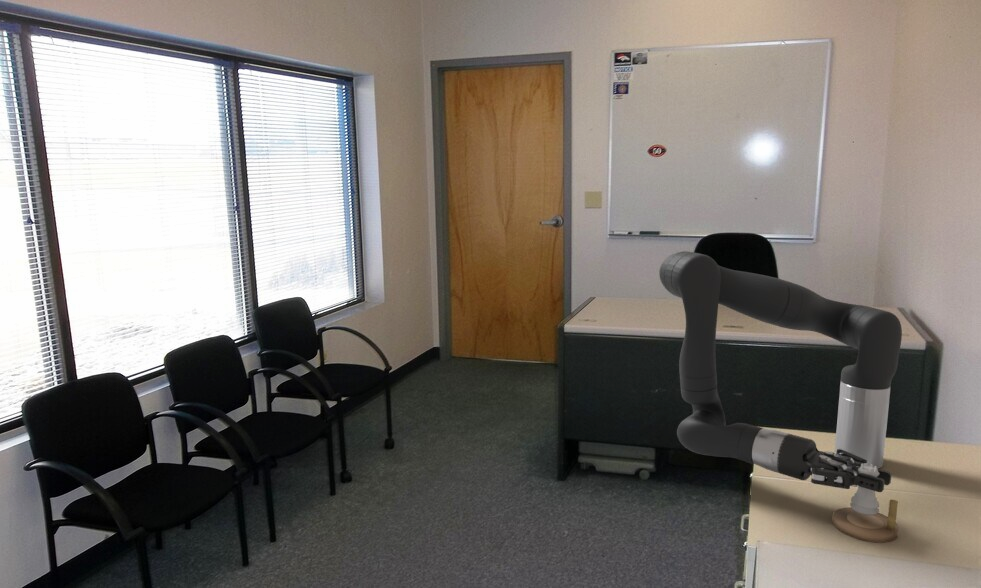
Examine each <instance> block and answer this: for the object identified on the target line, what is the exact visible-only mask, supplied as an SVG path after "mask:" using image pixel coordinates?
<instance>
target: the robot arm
mask: <svg viewBox="0 0 981 588" xmlns="http://www.w3.org/2000/svg"><path fill="white" fill-rule="evenodd" d="M658 272H659V280H660V282H661V284H662V285H663V287H664V289H665V290H666V291H667V292H668V293H670V294H672V295H673V296H675V297H678V298H680V299H682V305H683V309H684V314H685V331H684V338H683V340H682V341H683V342H682V346H681V348H680V354H679V361H678V367H679V368H678V369H679V371H678V372H679V384H680V394H681V399H683V401H684V402H685V403H688V404H690V405H691V406H692V407H691V408H692V414H691V415H689V416H687V417H686V418H685V419H683V420H681V422H680V423H679V424H678V427H677V429H676V437H677V439H678V442H680V444H681V445H682V446H683V447H684V448H686V449H687V450H689V451H690V452H692V453H694V454H699V455H704V456H710V457H711V456H712V457H720V458H734V459H737V460H739V461H743V462H745V463H749V464H752V465H756V466H758V467H761V468H762V469H765V470H767V471H771V472H773V473H777V474H780V475H783V476H787V477H790V478H794V479H797V480H800V481H806V480H809V478H810V477H811V479H810V483H811V484H815V485H820V486H826V487H831V488H832V487H833V488H839V489H845V490H849V489H850V488H851V487H852V488H858V486H860V487H863V488H866V489H870V490H873V491H875V493H882V492H883V491H884V490H885V486H889V485H891V482H892V481H891V480H892V473H891V472H890V471H887V470H883V469H881V468H882V467H883V465H884V455H885V454H884V453H885V447H886V436H887V428H888V427H887V426H888V419H889V418H888V417H889V408H890V407H889V405H890V396H891V395H890V394H891V384H892V380H893V378H894V376H895V375H896V372H897V369H898V364H899V357H900V352H901V344H902V340H903V339H902V338H903V333H902V331H903V330H902V324H901V321H900V319H899V317H898V316H897V315H895V314H894V313H892V312H890V311H887V310H883V309H879V308H876V307H872V306H868V305H863V304H862V305H860V304H854V303H848V302H847V303H846V302H841V301H836V300H833V299H829V298H826V297H823V296H822V295H820V294H818V293H816V292H815V291H813V290H811V289H810V288H807V287H806V286H802V285H800V284H797V283H794V282H791V281H788V280H786V279H785V280H784V279H781V278H777V277H773V276H770V275H764V274H759V273H755V272H754V273H753V272H748V271H742V270H734V269H730V268H727V267H724V266H722V265H719V264H718V263H717V262H716V260H715V259H713V258H712V257H711V256H709V255H708V254H704V253H703V254H702V253H699V252H693V251H688V250H687V251H686V250H684V251H679V252H678V251H677V252H675V253H672V254H670V255H668V257H666V258H665V259H664V260H663V261H662V263H661V264H660V267H659V271H658ZM719 305H721V306H723V307H725V308H727V309H728V308H729V309H730V310H732V311H735V312H737V313H739V314H742V315H743V316H744V315H745V316H746V317H749V318H751V319H752V318H753V319H755V320H757V321H760V322H763V323H766V324H769V325H772V326H776V327H779V328H783V329H788V330H794V331H806V332H808V331H810V332H815V333H817V334H821V335H824V336H826V337H828V338H832V339H833V340H835V341H837V342H840V343H842V344H843V345H846V346H848V347H851V348H852V349H856V350H858V352H857V356H856V361H855V364H850V365H846V366H844V367H843V368H842V370H841V372H840V385H839V399H838V408H837V409H838V410H837V423H836V432H835V443H834V452H833V451H825V450H824V451H822V450H821V451H820V450H819V449H818V447H817V443H816V442H815V441H814V440H813V439H810V438H807V437H804V436H800V435H796V434H792V433H788V432H785V431H781V430H776V429H769V428H763V427H761V426H757V425H753V424H750V423H746V422H745V423H743V422H735V423H732V424H728V425H726V415H725V414H726V413H725V412H724V409H723V405H722V401H721V398H720V397H719V393H718V377H717V364H716V363H717V362H716V361H717V360H716V341H717V340H716V339H717V338H716V337H717V325H718V324H717V323H718V312H719ZM864 463H867V464H868V466H870V464H872V465H874V467H875V466H876V467H877V468H878V469H877V470H878V472H879V475H878V476H877V477H874V476H871V475H867V474H864V473H859V471H858V469H859V468H860V467H861V464H864ZM874 467H873V468H874Z"/></svg>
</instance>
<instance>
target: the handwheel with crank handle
mask: <svg viewBox="0 0 981 588" xmlns="http://www.w3.org/2000/svg"><path fill="white" fill-rule="evenodd" d="M888 502H889V504H888V512H887V513H888V514H887V515H885V514H883V513H880V512H878V513H877V514H875V515H872V516H870V515H863V514H860V513H857V512H855V511H854V510H853V509H852V508H851V506H850V507H849V506H848V507H841V508H837V509H835V510H834V511H833V512H832V520H831V521H832V525H833V526H834V527H835V528H836V529H837V531H840V532H841V533H843V534H844V535H847V536H849V537H852V538H854V539H858V540H862V541H864V542H871V543H888V542H893V541H894V540H896V539H897V538H898V536H899V529H900V528H899V525H898V523H897V514H898V507H899V506H898V505H899V502H898V500H896V499H889V501H888Z"/></svg>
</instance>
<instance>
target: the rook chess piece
mask: <svg viewBox="0 0 981 588" xmlns="http://www.w3.org/2000/svg"><path fill="white" fill-rule="evenodd" d="M873 467H874V465H872V464H870V466H868V464H867V463H864V464H861V467H860V468H859V469H858V471H859V473H864V474H867V475H871V476H874V477H877V476H878V475H879V472H878V470H877V469H879V468H877V467H876V466H875V467H874V468H873ZM850 500H851V502H850V504H849V506H850V507H851V508H852V509H853V510H854V511H855V512H857V513H860V514H863V515H870V516H872V515H875V514H877V513H880V509H879V507H880V503H879V501H878V497H877V496H876V491H873V490H870V489H866V488H863V487H860V486H857V490H856V491H855V493H854V495H853V496H852V497H851V499H850Z"/></svg>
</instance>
